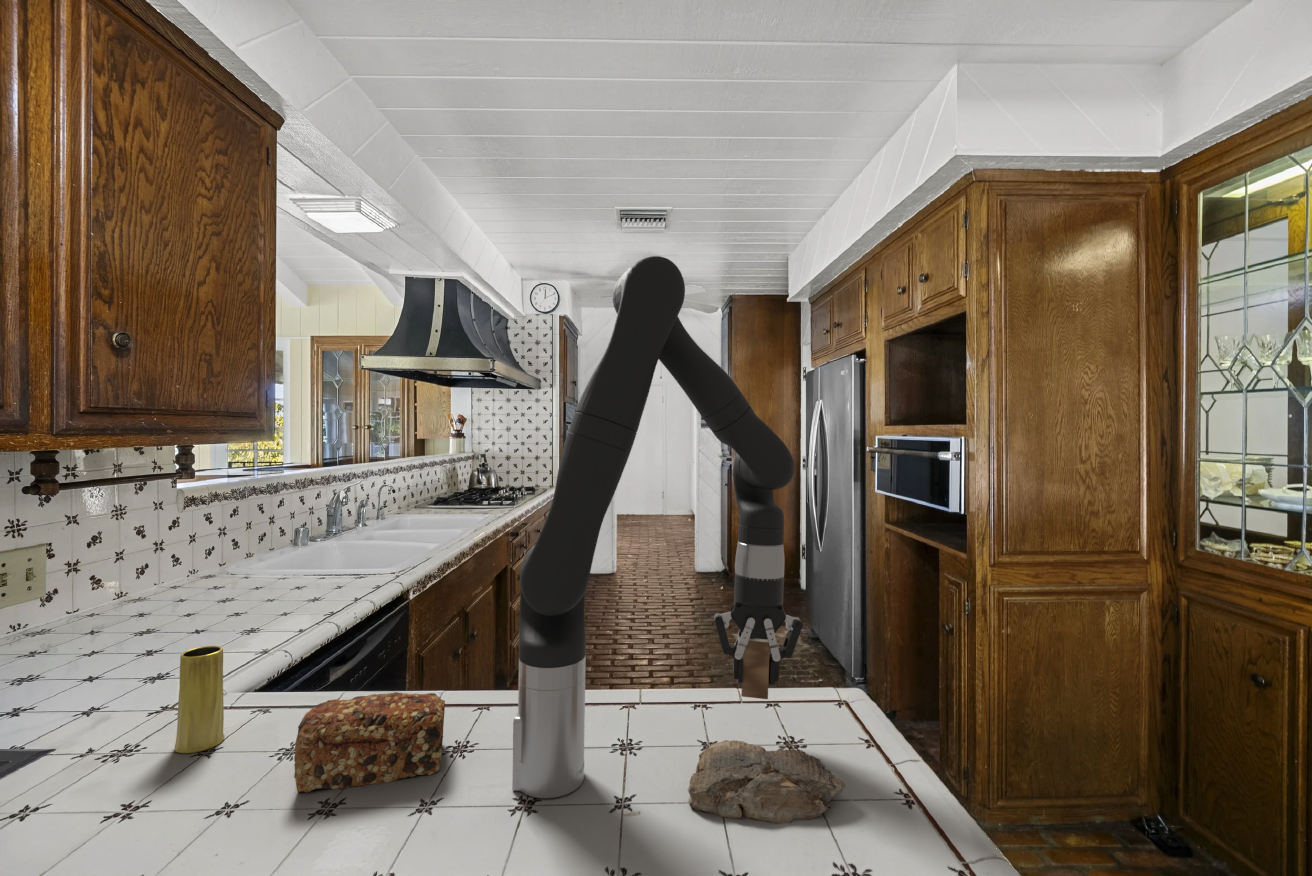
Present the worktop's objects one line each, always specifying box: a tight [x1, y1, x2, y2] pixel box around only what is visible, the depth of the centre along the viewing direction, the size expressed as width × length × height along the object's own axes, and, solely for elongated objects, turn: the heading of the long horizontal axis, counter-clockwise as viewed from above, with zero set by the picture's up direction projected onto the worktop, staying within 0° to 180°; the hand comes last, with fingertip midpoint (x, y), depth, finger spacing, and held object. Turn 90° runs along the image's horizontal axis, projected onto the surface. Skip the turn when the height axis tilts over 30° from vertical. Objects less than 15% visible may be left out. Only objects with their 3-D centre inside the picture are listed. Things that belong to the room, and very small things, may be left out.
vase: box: [174, 645, 225, 755], centre depth 91 cm, size 6×6×14 cm
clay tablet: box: [687, 739, 846, 824], centre depth 80 cm, size 14×5×20 cm
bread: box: [293, 691, 446, 794], centre depth 85 cm, size 19×11×10 cm, turn 107°
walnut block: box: [740, 637, 770, 700], centre depth 93 cm, size 4×6×9 cm, turn 170°
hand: (755, 681), depth 91 cm, fingers closed on walnut block, 4 cm apart
